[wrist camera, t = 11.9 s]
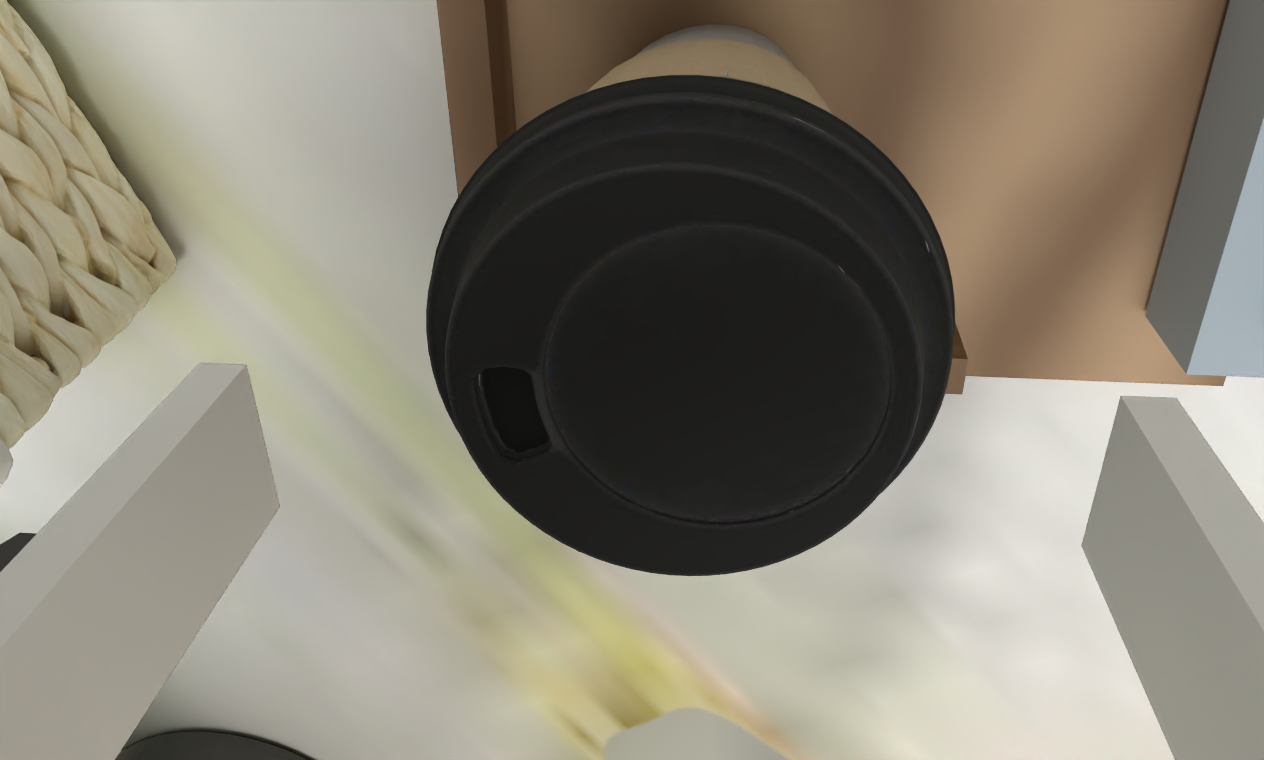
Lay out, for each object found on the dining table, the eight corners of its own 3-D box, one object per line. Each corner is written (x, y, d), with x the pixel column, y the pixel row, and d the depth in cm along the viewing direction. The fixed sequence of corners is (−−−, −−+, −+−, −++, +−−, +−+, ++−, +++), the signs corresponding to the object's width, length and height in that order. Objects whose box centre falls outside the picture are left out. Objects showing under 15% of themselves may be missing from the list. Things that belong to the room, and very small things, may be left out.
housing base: (483, 339, 36) (456, 395, 32) (429, -186, 27) (385, -181, 24) (1208, 367, 33) (1255, 429, 30) (1386, -201, 25) (1477, -198, 22)
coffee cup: (487, 97, 30) (282, 341, 17) (748, -129, 26) (736, -35, 13) (686, 328, 33) (639, 678, 20) (944, 155, 29) (1087, 451, 16)
